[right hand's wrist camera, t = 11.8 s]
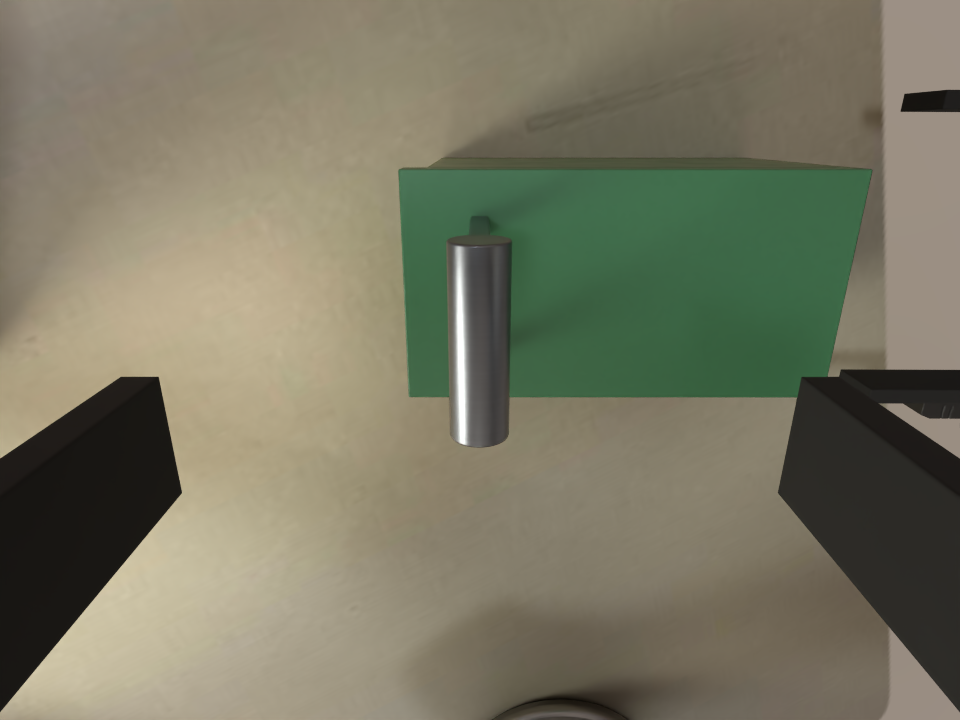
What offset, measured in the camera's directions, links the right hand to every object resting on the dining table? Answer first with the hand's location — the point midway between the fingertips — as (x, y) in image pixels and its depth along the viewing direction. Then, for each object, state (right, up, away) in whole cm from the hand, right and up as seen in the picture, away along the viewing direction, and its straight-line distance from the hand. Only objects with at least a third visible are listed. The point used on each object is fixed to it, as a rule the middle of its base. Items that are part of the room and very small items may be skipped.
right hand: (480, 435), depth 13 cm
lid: (+6, +5, +13) cm, 15 cm away
